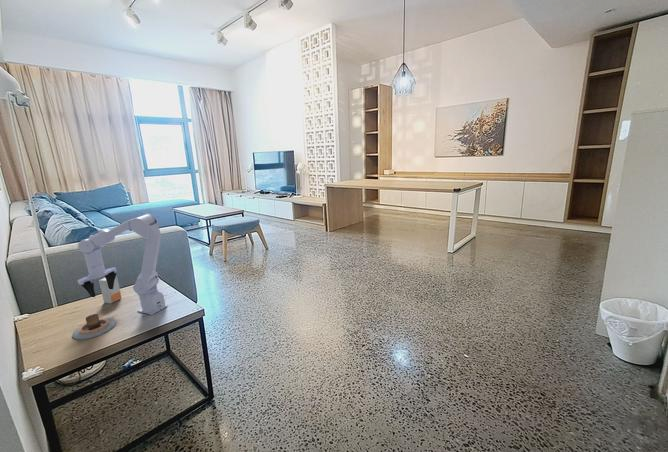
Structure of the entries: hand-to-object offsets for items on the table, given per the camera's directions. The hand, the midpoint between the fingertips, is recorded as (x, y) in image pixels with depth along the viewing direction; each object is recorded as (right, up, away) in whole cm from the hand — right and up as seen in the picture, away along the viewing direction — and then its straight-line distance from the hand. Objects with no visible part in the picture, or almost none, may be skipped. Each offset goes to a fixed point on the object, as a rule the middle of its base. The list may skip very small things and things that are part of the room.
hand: (102, 292), depth 129 cm
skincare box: (-5, -7, +12) cm, 15 cm away
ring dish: (+6, -12, -11) cm, 18 cm away
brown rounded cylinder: (+6, -12, -11) cm, 17 cm away
